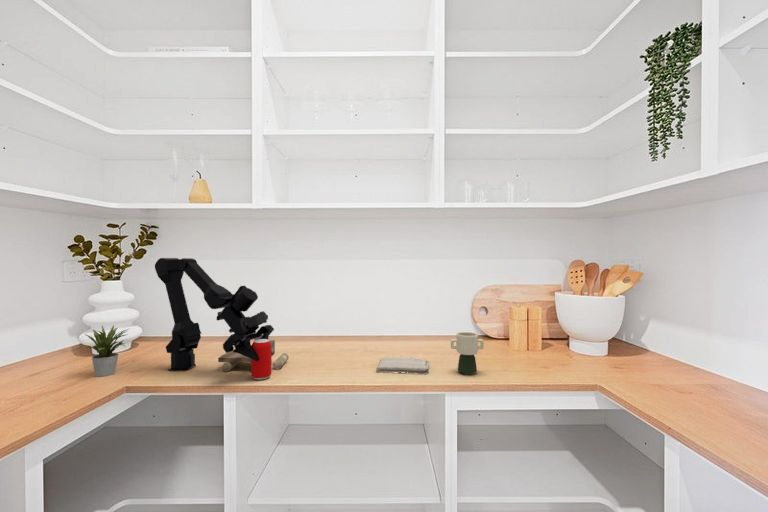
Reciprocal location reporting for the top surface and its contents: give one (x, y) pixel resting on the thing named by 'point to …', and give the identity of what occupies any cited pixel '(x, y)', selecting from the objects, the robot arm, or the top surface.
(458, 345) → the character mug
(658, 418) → the top surface
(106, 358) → the house plant
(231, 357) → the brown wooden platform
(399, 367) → the washcloth
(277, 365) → the roller
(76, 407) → the top surface
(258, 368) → the beverage can
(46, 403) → the top surface
